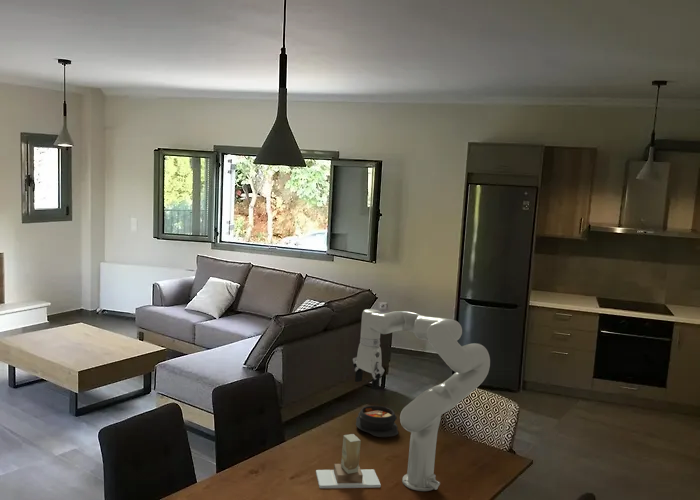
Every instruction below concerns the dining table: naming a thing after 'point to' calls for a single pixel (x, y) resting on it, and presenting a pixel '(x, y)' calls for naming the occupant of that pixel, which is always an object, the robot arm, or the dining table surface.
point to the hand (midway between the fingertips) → (366, 384)
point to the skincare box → (350, 453)
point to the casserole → (377, 421)
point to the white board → (329, 481)
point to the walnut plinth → (347, 475)
